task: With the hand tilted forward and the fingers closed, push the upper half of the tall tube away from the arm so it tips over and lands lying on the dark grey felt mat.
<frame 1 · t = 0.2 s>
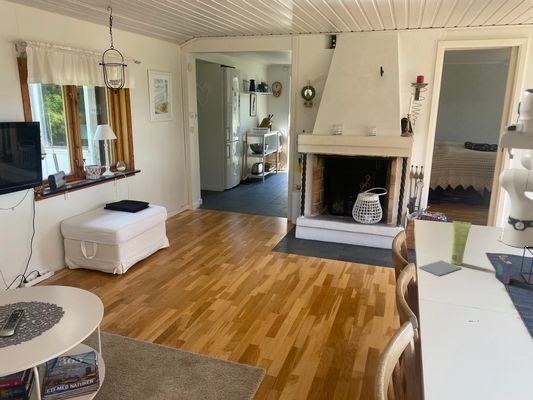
hand: (523, 159, 176), 47 cm above the table, tool pointing down, fingers open, 8 cm apart
flask: (501, 280, 166), on the table
tube: (456, 263, 182), on the table
felt mat: (440, 268, 176), on the table
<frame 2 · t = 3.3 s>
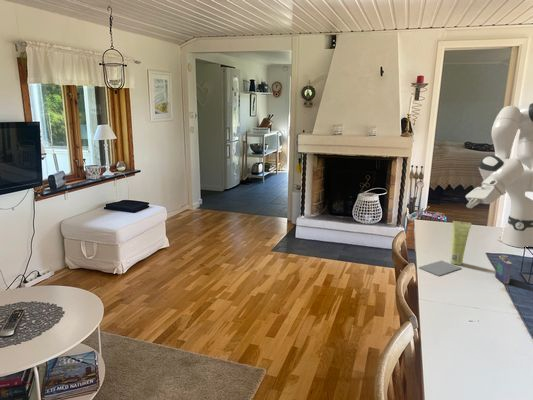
hand: (468, 207, 184), 24 cm above the table, tool tilted 50°, fingers closed
nothing on the table moved.
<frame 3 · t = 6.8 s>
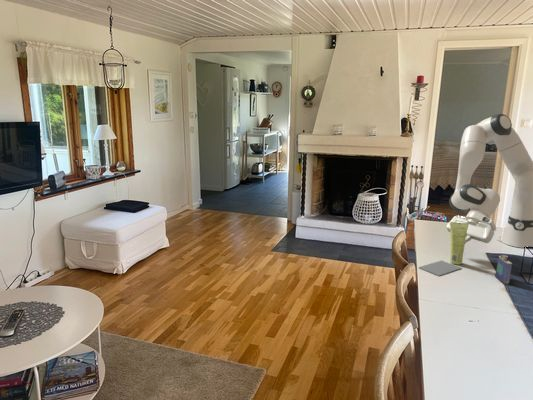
hand: (460, 243, 181), 9 cm above the table, tool tilted 45°, fingers closed
tube: (456, 262, 182), on the table, touching gripper
everything else where it was.
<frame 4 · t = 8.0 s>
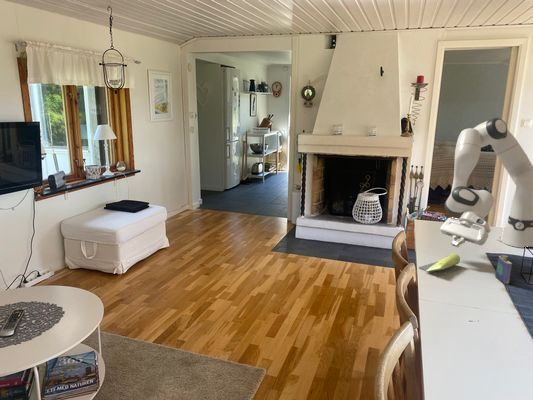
hand: (454, 245, 179), 9 cm above the table, tool tilted 45°, fingers closed
tube: (455, 258, 180), point 3 cm above the table, touching felt mat
everything else where it was.
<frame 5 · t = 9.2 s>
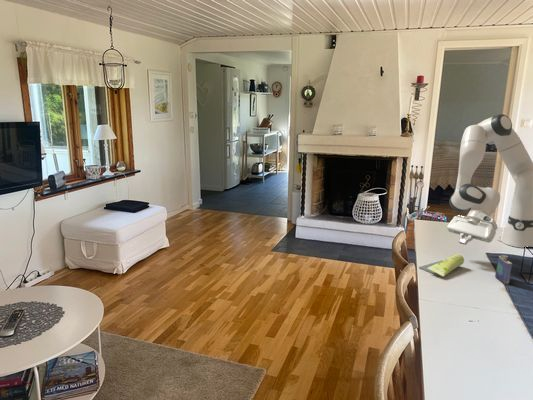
hand: (462, 243, 179), 10 cm above the table, tool tilted 45°, fingers closed
tube: (459, 259, 178), point 3 cm above the table, touching felt mat
everything else where it was.
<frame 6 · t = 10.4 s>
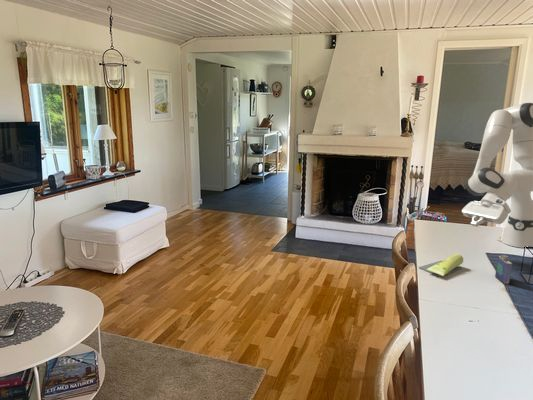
hand: (473, 225, 183), 17 cm above the table, tool tilted 50°, fingers closed
nothing on the table moved.
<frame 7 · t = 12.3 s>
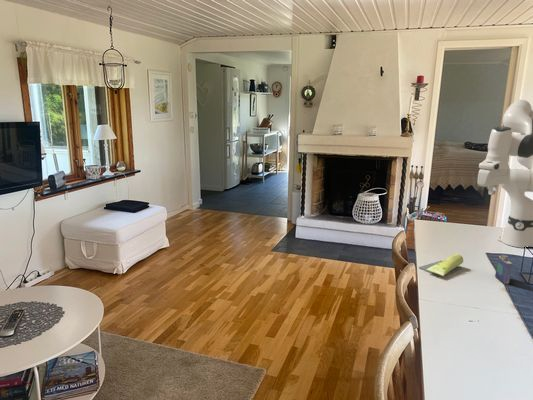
hand: (491, 194, 181), 31 cm above the table, tool pointing down, fingers closed
nothing on the table moved.
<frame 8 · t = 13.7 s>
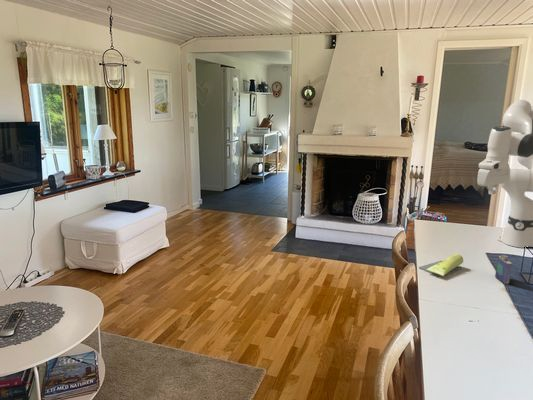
hand: (491, 194, 181), 31 cm above the table, tool pointing down, fingers closed
nothing on the table moved.
at the end: tube tilted 95°; tube inside the target area (7.8 cm from its centre), point 3.3 cm above the table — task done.
